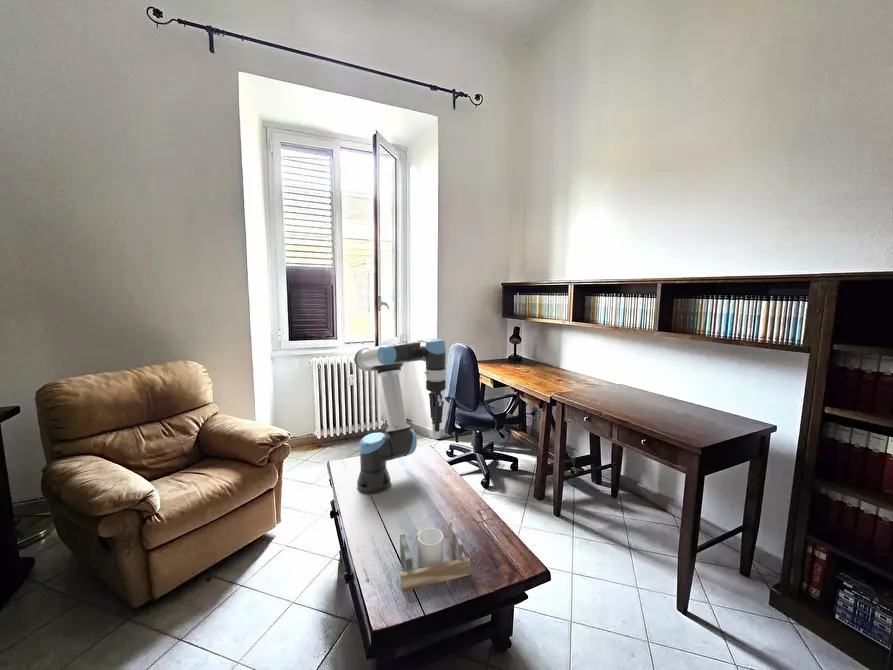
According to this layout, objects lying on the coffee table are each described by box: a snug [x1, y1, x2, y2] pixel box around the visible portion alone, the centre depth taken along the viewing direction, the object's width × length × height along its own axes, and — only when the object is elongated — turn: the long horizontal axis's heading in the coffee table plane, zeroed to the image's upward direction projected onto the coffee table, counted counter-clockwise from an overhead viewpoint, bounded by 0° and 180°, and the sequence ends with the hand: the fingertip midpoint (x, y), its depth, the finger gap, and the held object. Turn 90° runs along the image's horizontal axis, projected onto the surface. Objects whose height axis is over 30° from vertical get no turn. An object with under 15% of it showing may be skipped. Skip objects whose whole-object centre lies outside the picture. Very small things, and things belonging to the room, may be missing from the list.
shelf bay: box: [399, 521, 471, 592], centre depth 118 cm, size 13×23×10 cm, turn 107°
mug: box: [414, 527, 444, 569], centre depth 121 cm, size 12×8×10 cm
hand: (436, 437), depth 142 cm, fingers closed
